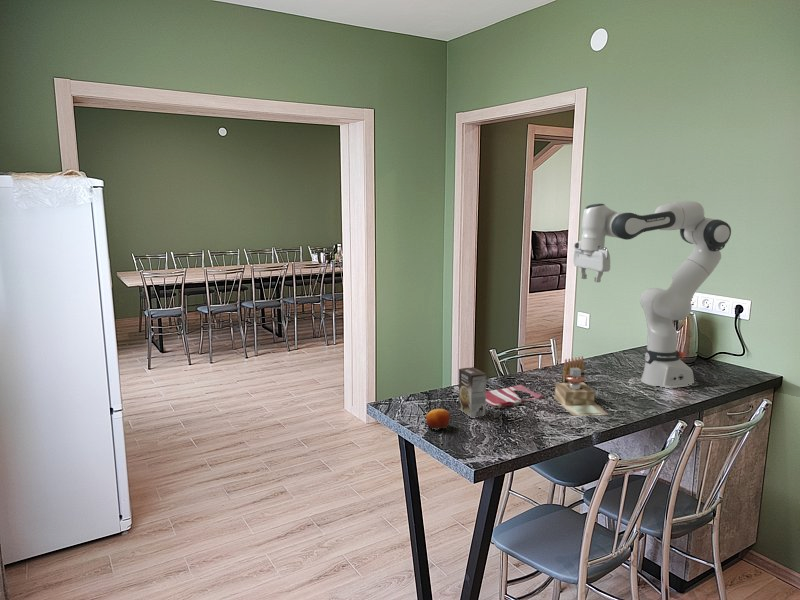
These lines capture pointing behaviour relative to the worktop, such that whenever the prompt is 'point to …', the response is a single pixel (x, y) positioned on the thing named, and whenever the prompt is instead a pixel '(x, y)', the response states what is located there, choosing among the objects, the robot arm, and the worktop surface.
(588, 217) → the robot arm
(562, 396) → the collar stand
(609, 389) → the worktop surface
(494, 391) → the dish towel
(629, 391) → the worktop surface
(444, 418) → the fruit
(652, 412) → the worktop surface
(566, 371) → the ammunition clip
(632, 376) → the worktop surface
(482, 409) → the coffee box
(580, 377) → the handwheel peg
